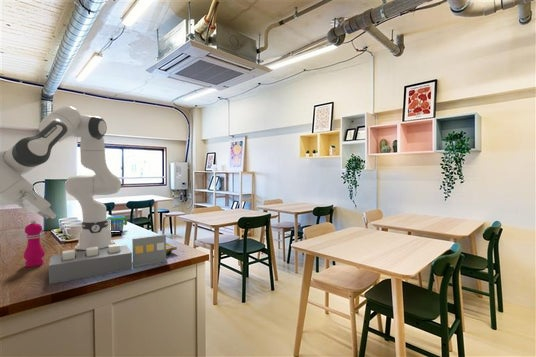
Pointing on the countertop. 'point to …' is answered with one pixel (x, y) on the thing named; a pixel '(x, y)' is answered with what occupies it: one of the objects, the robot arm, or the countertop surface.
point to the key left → (68, 254)
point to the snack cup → (117, 222)
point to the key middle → (92, 251)
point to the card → (149, 250)
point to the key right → (113, 248)
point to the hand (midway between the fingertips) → (51, 217)
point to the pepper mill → (33, 245)
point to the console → (89, 264)
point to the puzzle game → (170, 248)
